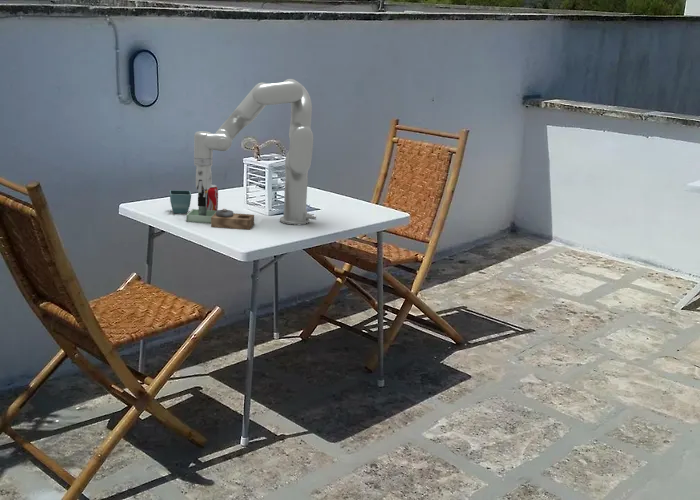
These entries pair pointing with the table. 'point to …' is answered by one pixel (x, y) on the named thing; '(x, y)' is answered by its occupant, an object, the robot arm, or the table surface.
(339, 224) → the table surface
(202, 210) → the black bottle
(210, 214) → the tray
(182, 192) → the flower pot
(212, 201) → the soda can
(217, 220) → the block
